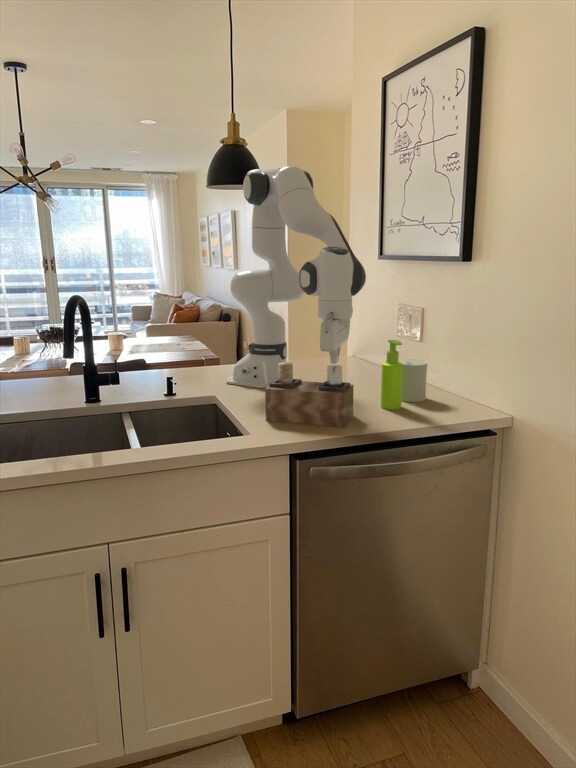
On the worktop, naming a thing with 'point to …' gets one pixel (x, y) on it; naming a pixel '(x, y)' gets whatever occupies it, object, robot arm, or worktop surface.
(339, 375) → the steel peg
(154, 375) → the worktop surface
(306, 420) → the walnut block
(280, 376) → the maple peg
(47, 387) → the worktop surface
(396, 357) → the soap dispenser
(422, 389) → the can
